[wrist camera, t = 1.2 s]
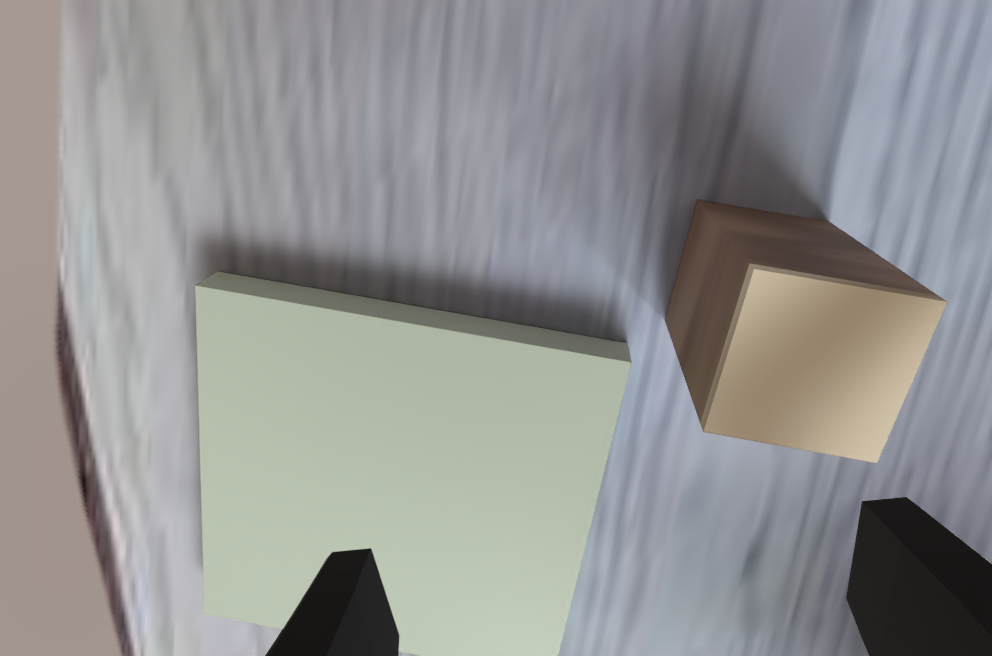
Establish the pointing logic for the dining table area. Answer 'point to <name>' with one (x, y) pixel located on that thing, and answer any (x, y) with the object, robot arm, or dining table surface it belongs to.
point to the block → (795, 331)
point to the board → (399, 460)
